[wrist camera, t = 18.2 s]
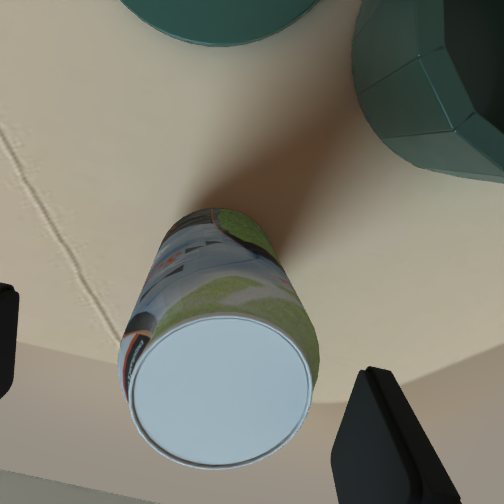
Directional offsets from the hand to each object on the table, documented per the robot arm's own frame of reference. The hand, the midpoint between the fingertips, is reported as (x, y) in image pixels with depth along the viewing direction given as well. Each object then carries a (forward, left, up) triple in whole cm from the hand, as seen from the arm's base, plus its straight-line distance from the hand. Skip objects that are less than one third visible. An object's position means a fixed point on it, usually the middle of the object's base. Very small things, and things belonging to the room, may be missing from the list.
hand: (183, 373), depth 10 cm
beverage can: (0, 0, -12) cm, 12 cm away
